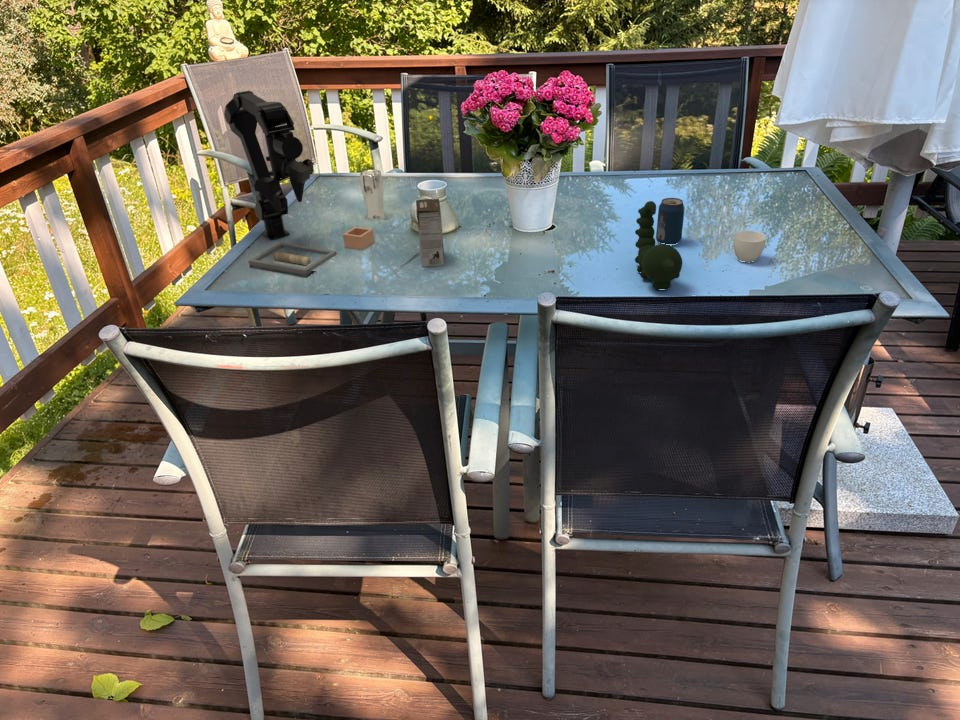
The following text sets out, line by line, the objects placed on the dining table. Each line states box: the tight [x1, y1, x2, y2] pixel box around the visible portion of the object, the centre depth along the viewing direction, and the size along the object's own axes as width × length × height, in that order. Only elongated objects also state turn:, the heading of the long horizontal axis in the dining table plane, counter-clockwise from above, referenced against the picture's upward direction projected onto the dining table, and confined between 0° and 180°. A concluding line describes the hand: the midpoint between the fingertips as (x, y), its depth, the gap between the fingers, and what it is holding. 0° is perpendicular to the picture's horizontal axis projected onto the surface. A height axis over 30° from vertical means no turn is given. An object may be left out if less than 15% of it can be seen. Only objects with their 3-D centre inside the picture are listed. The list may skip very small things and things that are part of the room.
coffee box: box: [415, 198, 445, 268], centre depth 191 cm, size 9×6×16 cm
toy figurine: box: [634, 200, 683, 290], centre depth 174 cm, size 9×19×25 cm
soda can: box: [655, 197, 685, 244], centre depth 195 cm, size 7×7×12 cm
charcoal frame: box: [247, 241, 338, 278], centre depth 198 cm, size 20×14×2 cm
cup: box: [733, 230, 767, 262], centre depth 185 cm, size 8×10×7 cm
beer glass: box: [359, 169, 387, 221], centre depth 222 cm, size 7×7×15 cm
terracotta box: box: [342, 226, 375, 251], centre depth 204 cm, size 6×6×5 cm
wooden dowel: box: [273, 251, 311, 266], centre depth 196 cm, size 6×2×11 cm
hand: (289, 207), depth 200 cm, fingers open, 9 cm apart
